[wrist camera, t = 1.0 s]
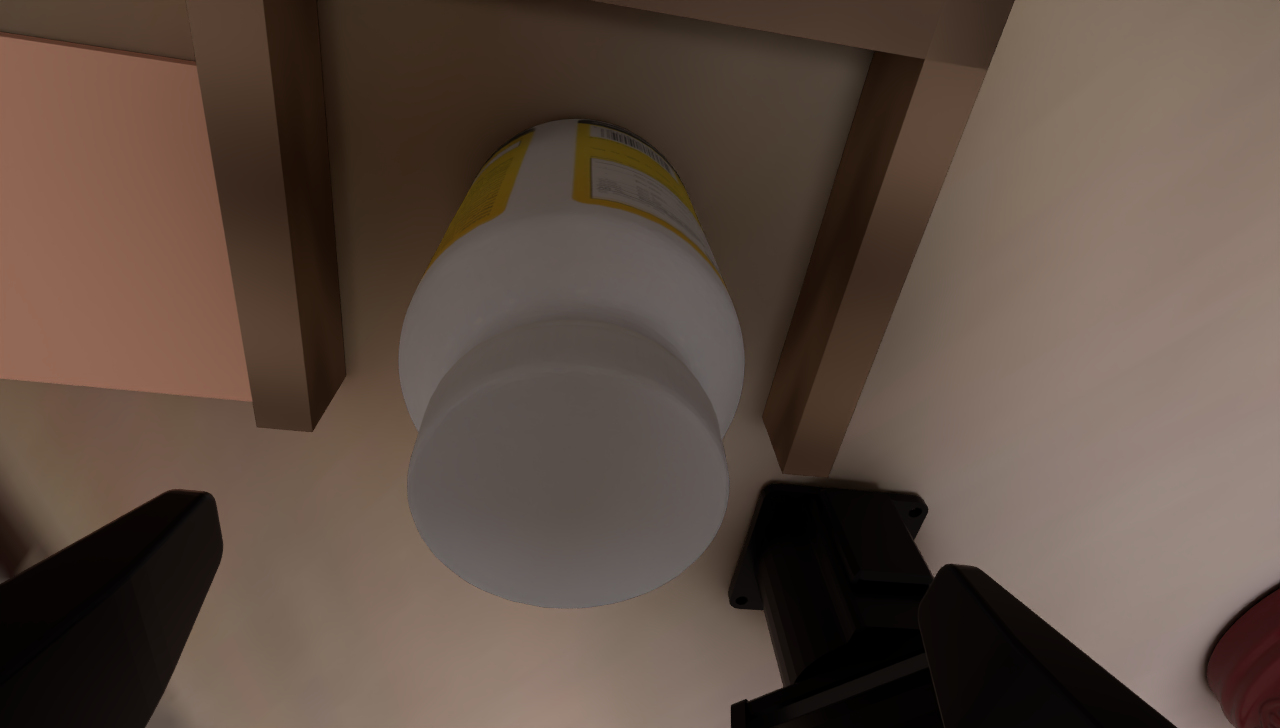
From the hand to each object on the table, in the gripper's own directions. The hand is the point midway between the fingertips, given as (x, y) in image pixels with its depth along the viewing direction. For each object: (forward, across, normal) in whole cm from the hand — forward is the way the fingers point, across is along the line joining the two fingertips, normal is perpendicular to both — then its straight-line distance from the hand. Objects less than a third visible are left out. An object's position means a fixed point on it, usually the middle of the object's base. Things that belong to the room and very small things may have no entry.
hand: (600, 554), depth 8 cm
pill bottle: (+13, 0, 0) cm, 13 cm away
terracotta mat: (+13, +14, +3) cm, 20 cm away
